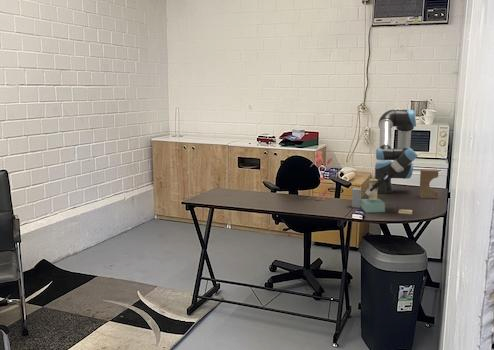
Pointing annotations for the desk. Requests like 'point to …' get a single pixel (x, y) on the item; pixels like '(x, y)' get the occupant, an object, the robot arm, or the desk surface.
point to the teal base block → (372, 205)
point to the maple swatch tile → (405, 211)
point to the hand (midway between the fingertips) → (367, 192)
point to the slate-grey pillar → (356, 197)
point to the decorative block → (427, 183)
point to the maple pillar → (375, 192)
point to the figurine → (318, 162)
